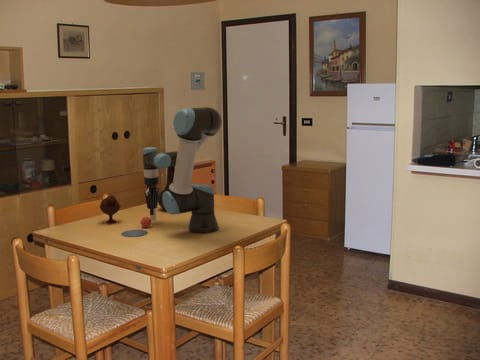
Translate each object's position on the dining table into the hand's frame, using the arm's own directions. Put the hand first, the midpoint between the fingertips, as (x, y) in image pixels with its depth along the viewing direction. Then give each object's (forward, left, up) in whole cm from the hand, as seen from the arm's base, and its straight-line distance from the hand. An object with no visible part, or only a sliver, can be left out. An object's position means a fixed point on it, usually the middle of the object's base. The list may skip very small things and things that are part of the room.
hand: (153, 220), depth 303 cm
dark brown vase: (+14, -30, -2) cm, 33 cm away
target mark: (-7, +20, -2) cm, 21 cm away
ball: (-3, +8, +1) cm, 8 cm away
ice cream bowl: (+21, +11, -2) cm, 24 cm away
